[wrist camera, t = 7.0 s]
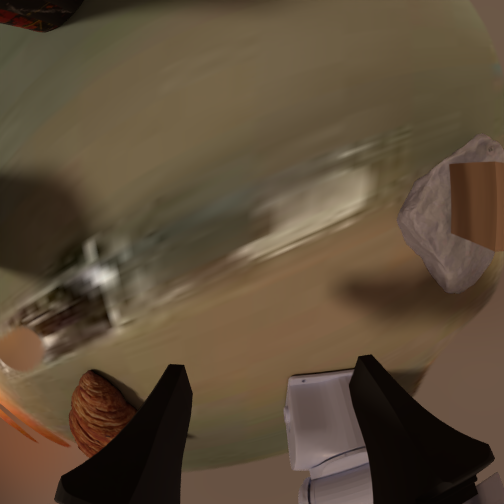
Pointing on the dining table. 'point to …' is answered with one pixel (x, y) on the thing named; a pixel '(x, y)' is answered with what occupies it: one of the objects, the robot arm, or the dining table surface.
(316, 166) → the dining table surface
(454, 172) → the walnut cube
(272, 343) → the dining table surface
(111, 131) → the dining table surface
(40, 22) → the deodorant
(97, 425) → the pastry
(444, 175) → the stone block
